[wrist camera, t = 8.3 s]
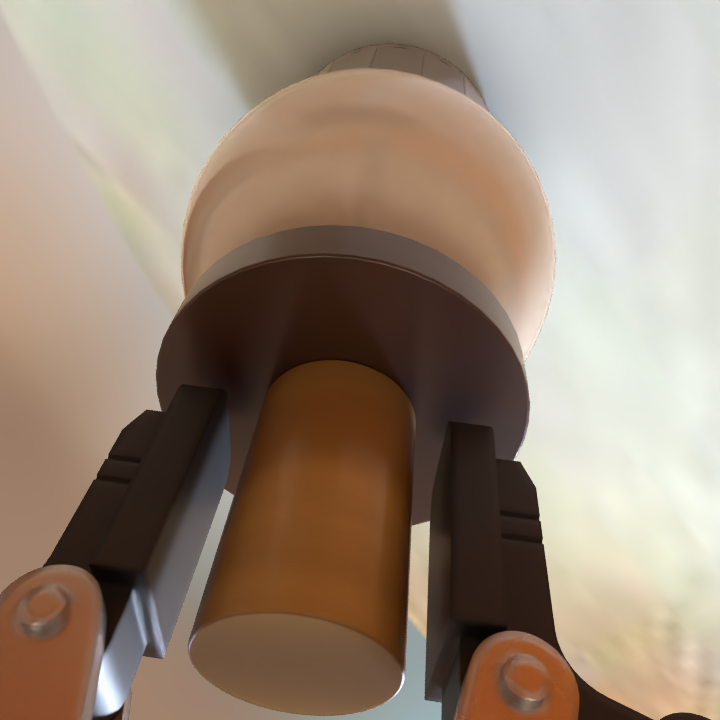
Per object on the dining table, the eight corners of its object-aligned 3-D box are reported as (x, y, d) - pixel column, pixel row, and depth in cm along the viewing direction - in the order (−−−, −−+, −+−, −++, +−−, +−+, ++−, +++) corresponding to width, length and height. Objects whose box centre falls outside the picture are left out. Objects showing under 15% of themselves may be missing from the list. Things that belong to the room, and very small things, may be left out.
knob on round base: (151, 200, 10) (-53, 457, 6) (569, 250, 10) (664, 551, 6) (189, 473, 15) (85, 738, 10) (483, 512, 15) (501, 796, 10)
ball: (230, 9, 17) (73, 121, 10) (573, 48, 17) (664, 193, 10) (242, 295, 22) (147, 497, 15) (498, 329, 22) (519, 550, 15)
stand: (289, 30, 20) (259, 64, 17) (516, 57, 19) (529, 96, 16) (287, 234, 24) (263, 291, 21) (472, 258, 24) (476, 319, 21)
